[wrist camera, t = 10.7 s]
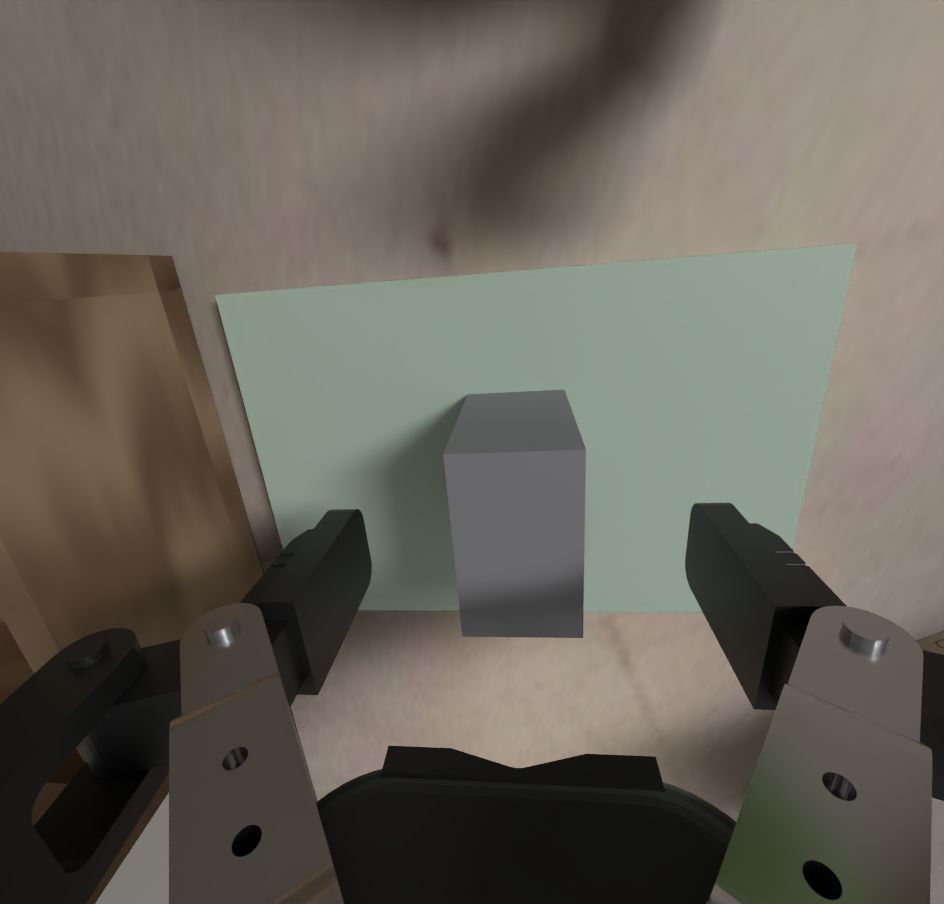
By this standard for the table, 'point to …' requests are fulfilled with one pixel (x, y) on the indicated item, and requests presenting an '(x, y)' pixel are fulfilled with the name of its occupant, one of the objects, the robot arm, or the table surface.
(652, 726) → the table surface
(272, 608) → the robot arm
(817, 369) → the lid
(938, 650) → the stack of blocks
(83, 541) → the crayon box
